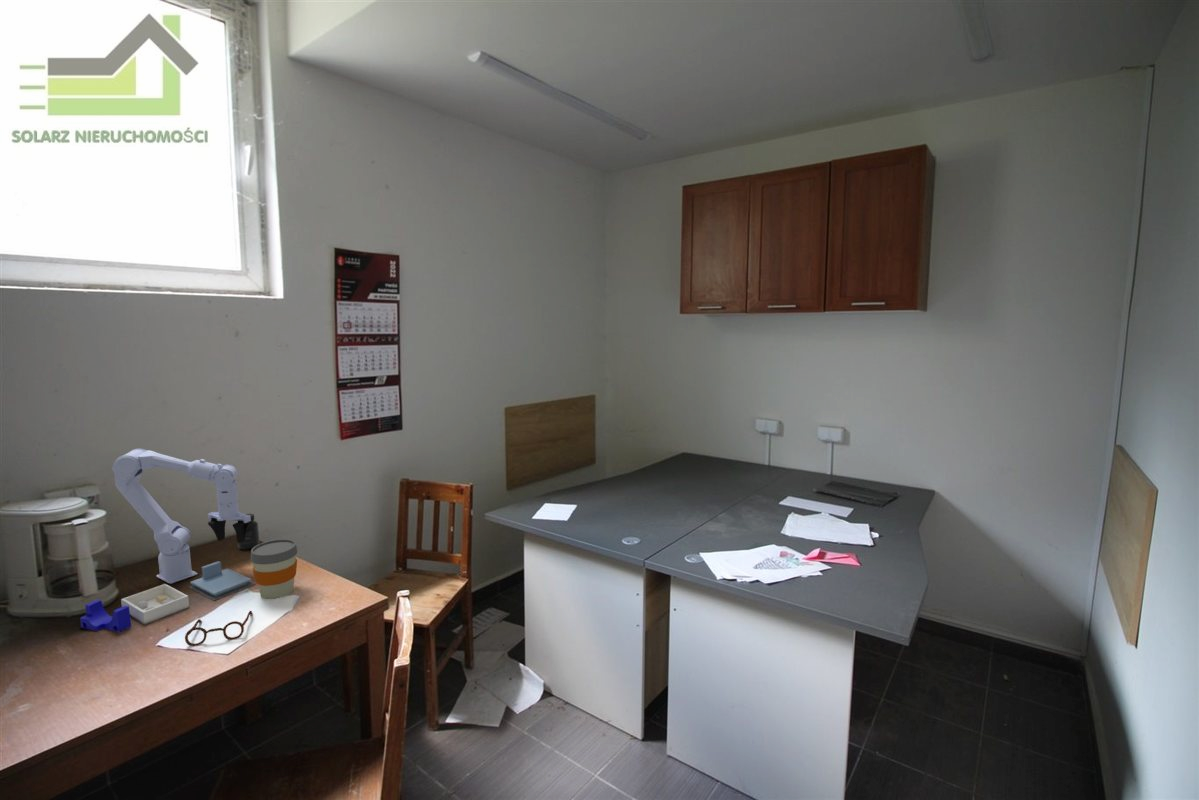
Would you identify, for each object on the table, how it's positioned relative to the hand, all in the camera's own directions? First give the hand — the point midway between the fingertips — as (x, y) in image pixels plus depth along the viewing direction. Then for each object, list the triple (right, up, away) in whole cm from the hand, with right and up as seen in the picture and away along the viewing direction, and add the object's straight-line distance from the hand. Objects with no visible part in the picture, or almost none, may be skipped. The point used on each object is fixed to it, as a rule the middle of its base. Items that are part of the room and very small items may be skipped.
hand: (231, 540), depth 185 cm
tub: (-7, -14, -23) cm, 28 cm away
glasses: (+19, -17, -33) cm, 42 cm away
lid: (+3, -11, -10) cm, 15 cm away
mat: (+4, -12, -10) cm, 16 cm away
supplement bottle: (-7, -8, +20) cm, 23 cm away
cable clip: (-13, -16, -33) cm, 39 cm away
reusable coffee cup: (+23, -13, -12) cm, 29 cm away
